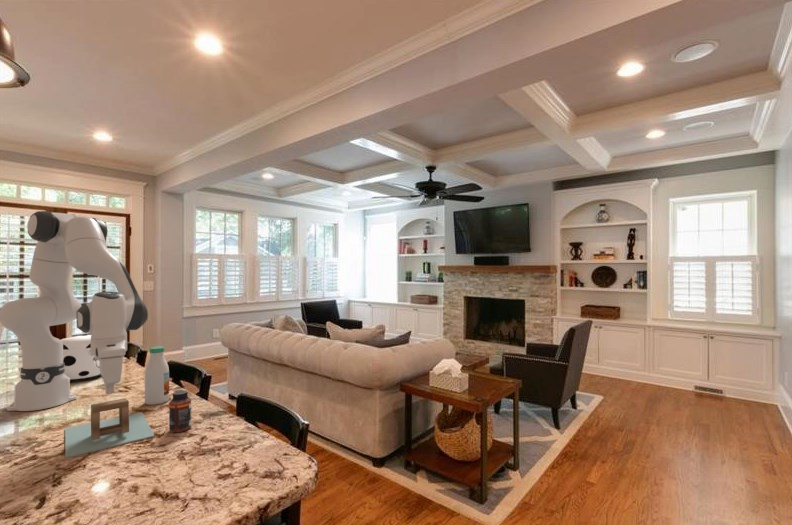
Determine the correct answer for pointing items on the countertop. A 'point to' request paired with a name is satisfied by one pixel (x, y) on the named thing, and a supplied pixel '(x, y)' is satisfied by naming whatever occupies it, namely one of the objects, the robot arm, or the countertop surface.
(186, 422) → the supplement bottle
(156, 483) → the countertop surface
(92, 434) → the open wooden box
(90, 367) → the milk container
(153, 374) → the milk bottle
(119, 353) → the robot arm
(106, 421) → the mat
